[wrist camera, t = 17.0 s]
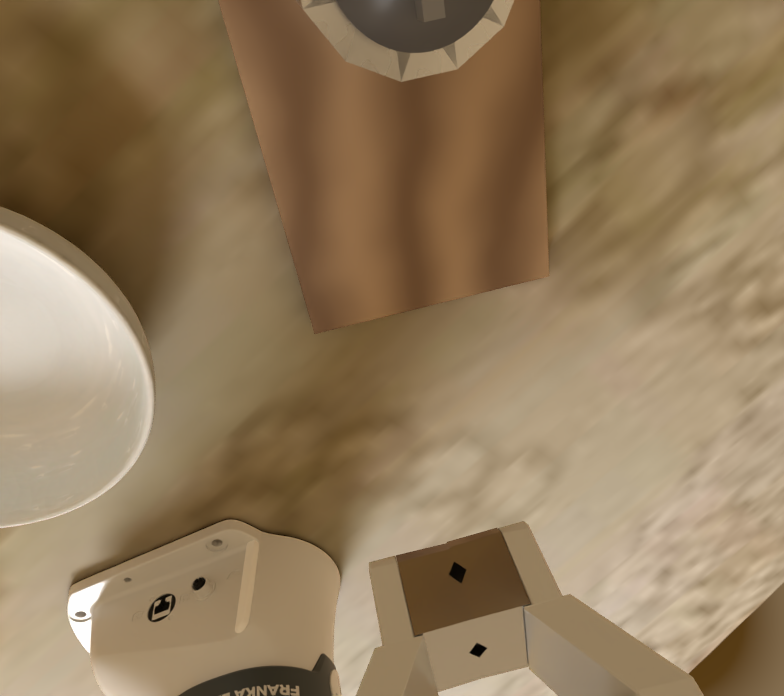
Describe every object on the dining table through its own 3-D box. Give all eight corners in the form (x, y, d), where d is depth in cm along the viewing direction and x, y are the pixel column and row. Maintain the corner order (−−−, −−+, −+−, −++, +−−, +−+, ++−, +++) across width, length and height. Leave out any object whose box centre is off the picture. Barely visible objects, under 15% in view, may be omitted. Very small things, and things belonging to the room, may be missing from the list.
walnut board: (312, 322, 42) (314, 334, 40) (170, -175, 27) (166, -181, 26) (540, 266, 43) (549, 276, 41) (519, -242, 28) (531, -251, 27)
